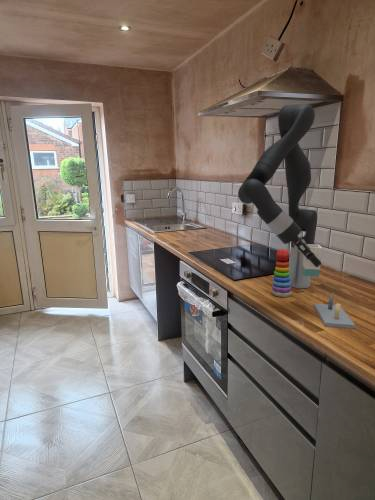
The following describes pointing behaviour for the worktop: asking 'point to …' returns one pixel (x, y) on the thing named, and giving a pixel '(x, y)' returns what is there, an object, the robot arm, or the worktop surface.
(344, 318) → the pin board
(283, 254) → the stacking toy
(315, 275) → the sleeve
